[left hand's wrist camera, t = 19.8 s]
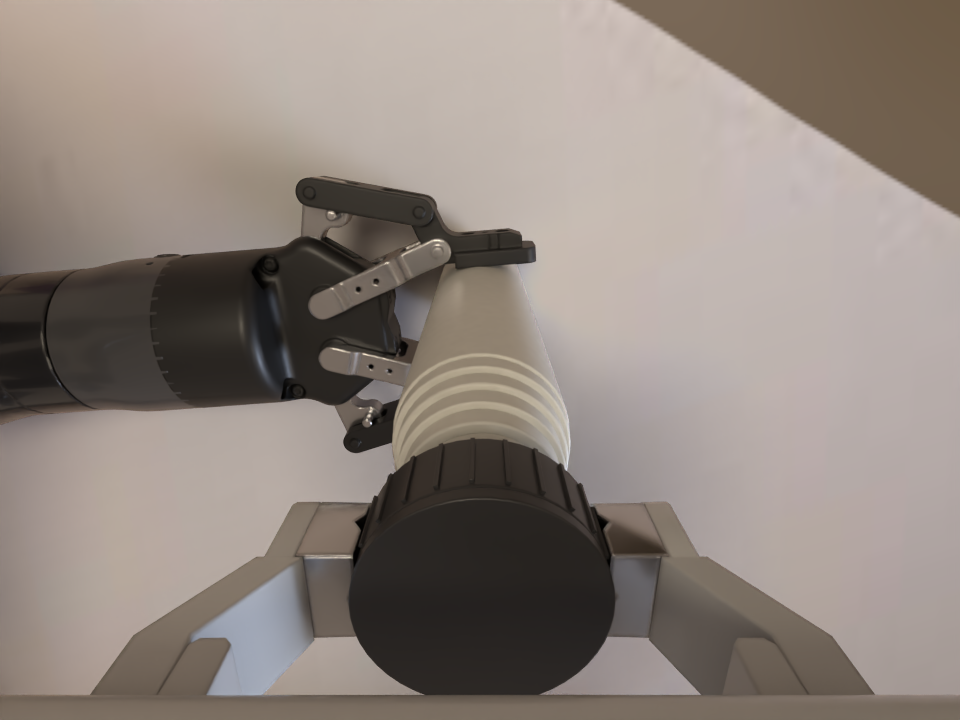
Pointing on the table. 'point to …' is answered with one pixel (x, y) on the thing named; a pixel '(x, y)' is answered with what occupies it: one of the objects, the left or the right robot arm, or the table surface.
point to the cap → (481, 573)
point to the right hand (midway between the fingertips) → (534, 305)
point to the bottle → (481, 370)
